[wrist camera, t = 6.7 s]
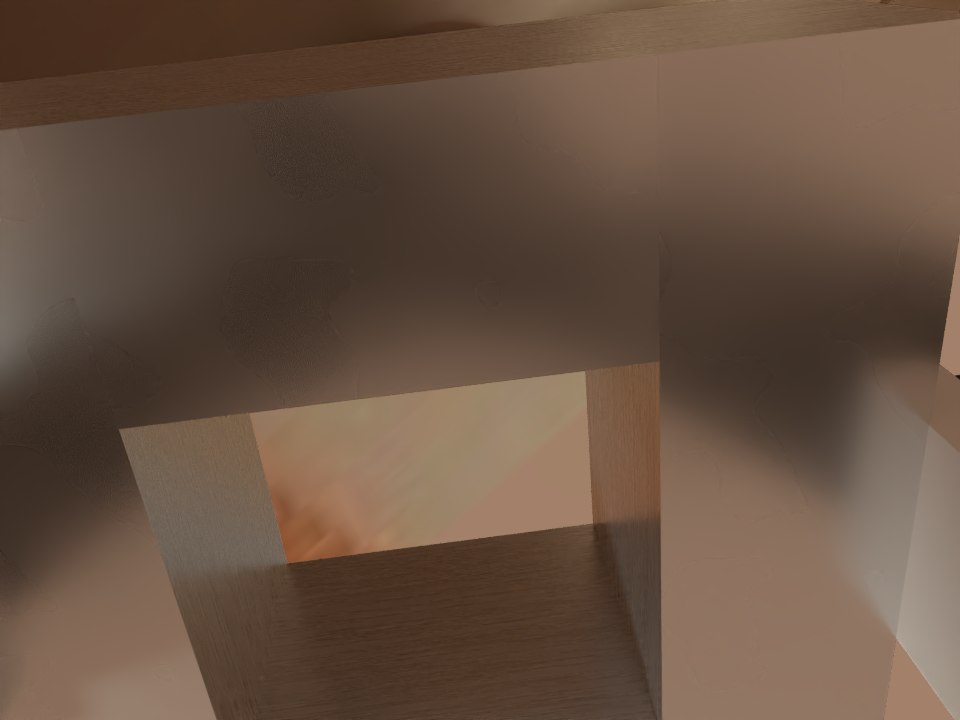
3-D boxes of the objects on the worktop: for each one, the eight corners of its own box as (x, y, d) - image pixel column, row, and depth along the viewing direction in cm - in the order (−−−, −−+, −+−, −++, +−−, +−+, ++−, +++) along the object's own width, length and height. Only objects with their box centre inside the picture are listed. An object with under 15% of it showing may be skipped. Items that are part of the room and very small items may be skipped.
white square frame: (164, 705, 14) (80, 960, 11) (-65, 89, 10) (-342, 170, 6) (749, 626, 14) (863, 850, 11) (783, -7, 10) (994, 14, 6)
